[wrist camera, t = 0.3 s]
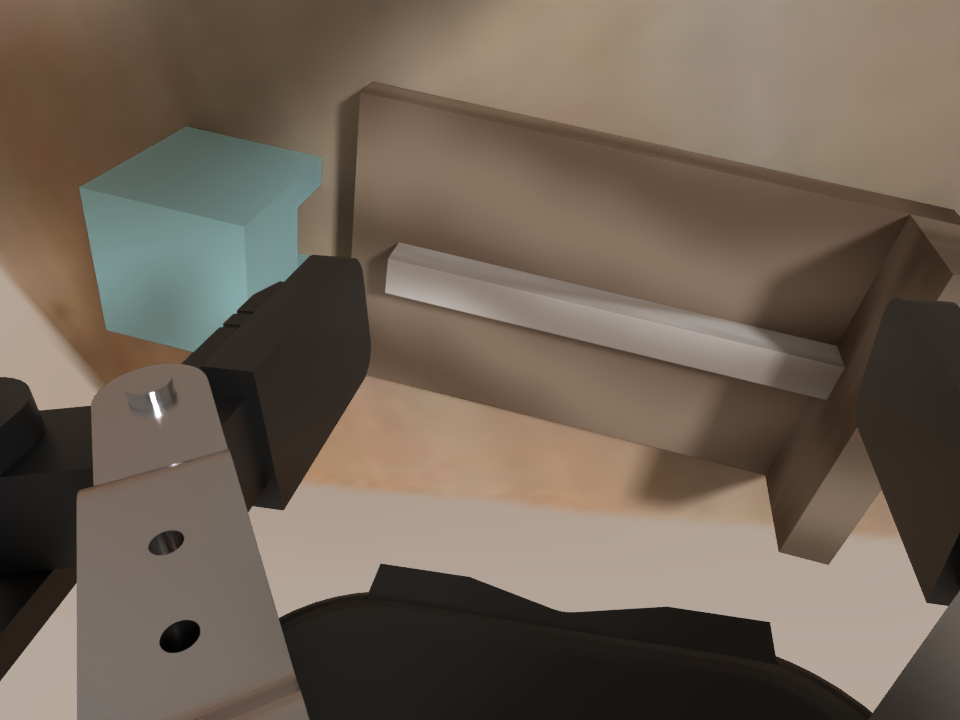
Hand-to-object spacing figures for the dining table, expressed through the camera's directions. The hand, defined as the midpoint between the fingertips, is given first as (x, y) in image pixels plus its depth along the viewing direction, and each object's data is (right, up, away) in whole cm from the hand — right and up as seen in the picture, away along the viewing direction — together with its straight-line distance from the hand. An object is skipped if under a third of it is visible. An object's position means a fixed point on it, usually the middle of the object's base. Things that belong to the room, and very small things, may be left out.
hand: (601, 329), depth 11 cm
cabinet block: (-12, +6, +20) cm, 24 cm away
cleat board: (+4, +2, +19) cm, 20 cm away
